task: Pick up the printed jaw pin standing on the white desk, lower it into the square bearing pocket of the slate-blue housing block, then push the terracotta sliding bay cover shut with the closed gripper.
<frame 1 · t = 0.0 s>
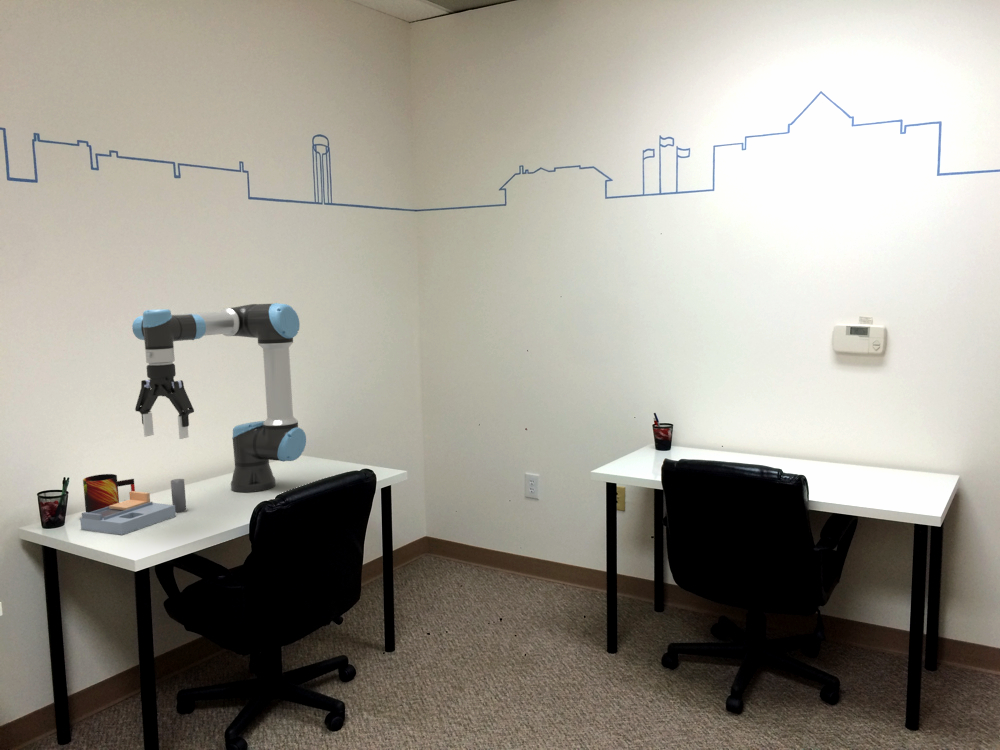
hand: (166, 437, 229), 28 cm above the table, fingers open, 13 cm apart
mug: (109, 513, 255), on the table
housing: (129, 522, 243), on the table
jaw pin: (179, 510, 254), on the table
lid: (129, 500, 247), point 5 cm above the table, slide at 0.0 cm
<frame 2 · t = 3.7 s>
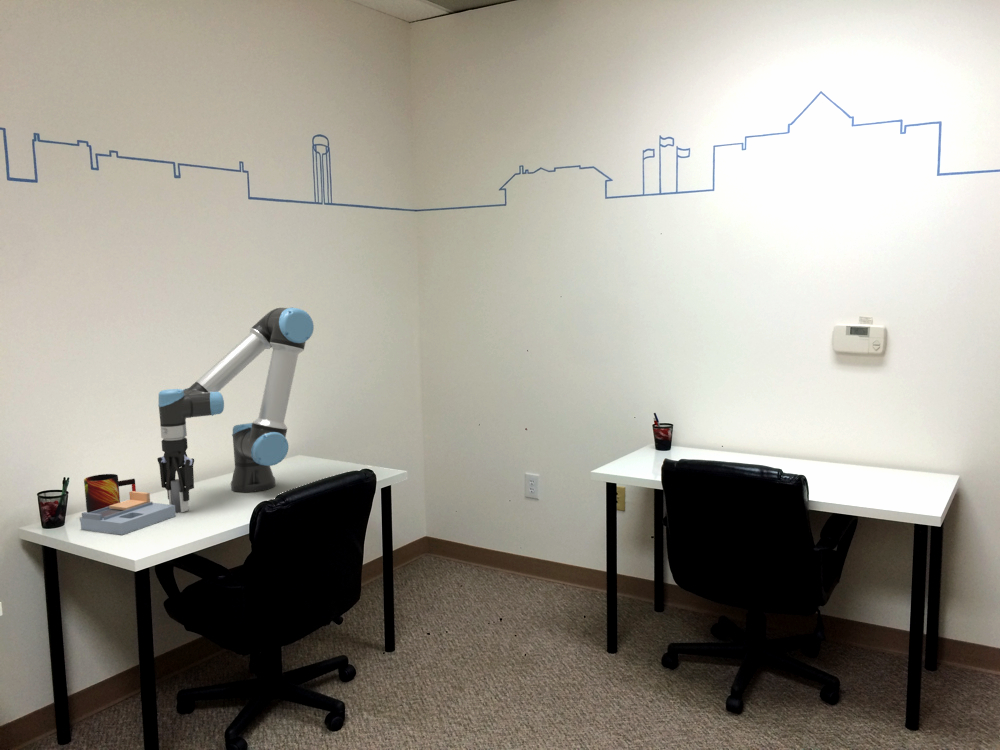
hand: (179, 510, 254), 0 cm above the table, fingers closed on jaw pin, 4 cm apart
jaw pin: (179, 511, 254), on the table, touching gripper
everything else where it was.
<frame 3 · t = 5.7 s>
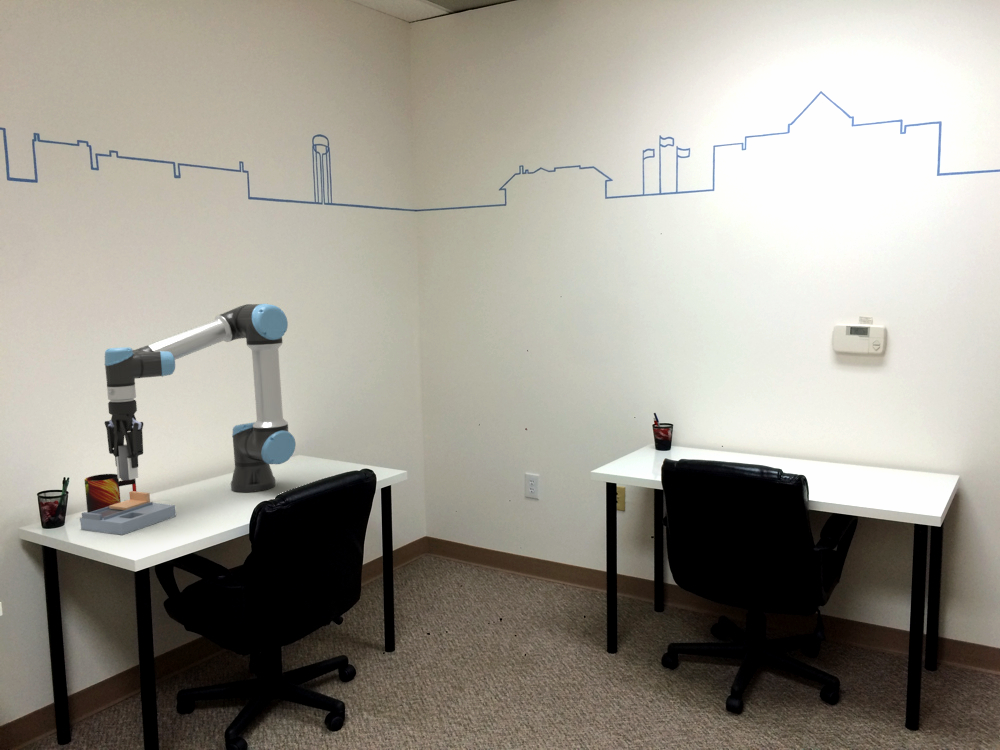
hand: (127, 477, 237), 15 cm above the table, fingers closed on jaw pin, 4 cm apart
jaw pin: (128, 478, 237), point 15 cm above the table, touching gripper
everything else where it was.
when the fingers open (5 cm above the table, at t = 7.7 s): jaw pin drops 3 cm, resting in housing.
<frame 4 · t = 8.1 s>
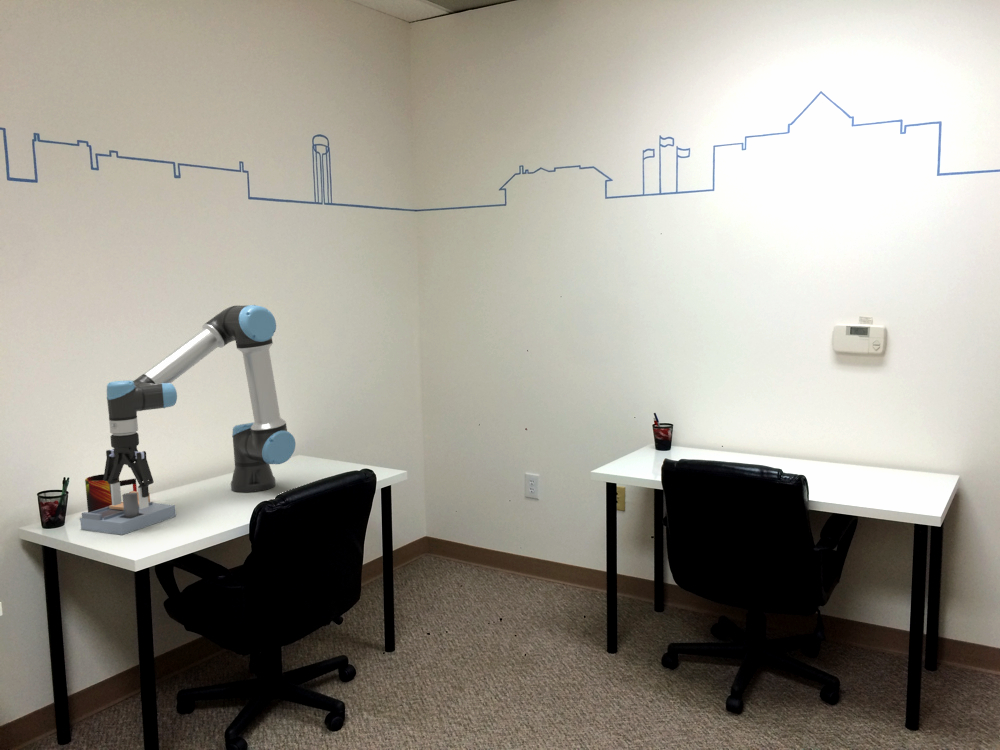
hand: (130, 506, 237), 6 cm above the table, fingers open, 10 cm apart
jaw pin: (132, 526, 238), resting in housing
everything else where it was.
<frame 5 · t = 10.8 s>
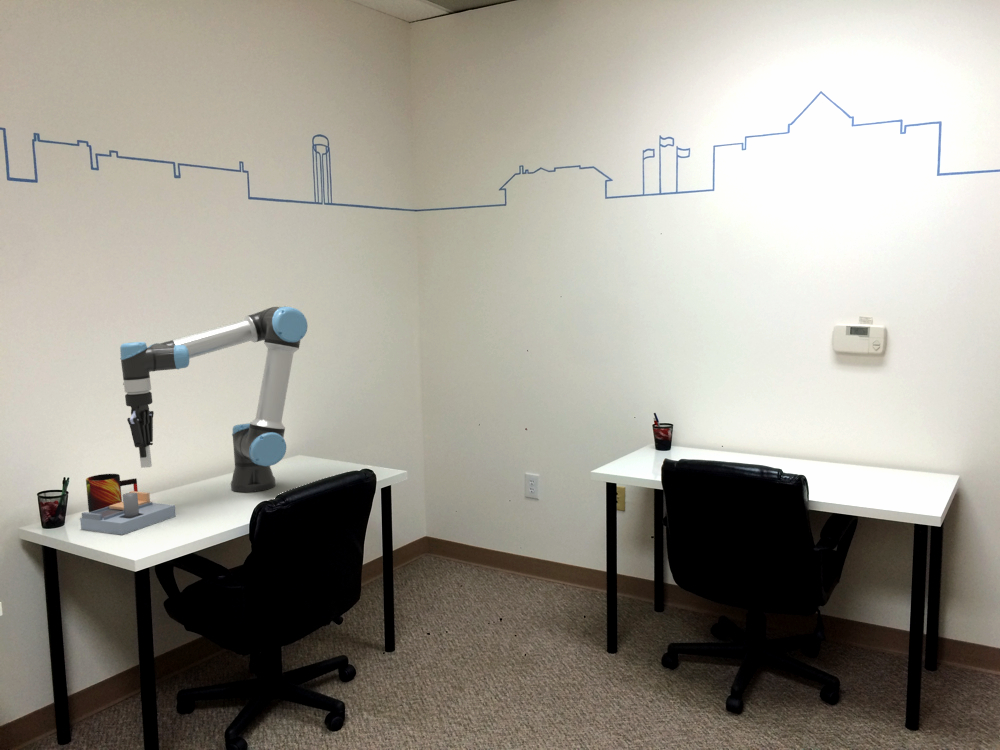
hand: (146, 466, 249), 16 cm above the table, fingers closed
nothing on the table moved.
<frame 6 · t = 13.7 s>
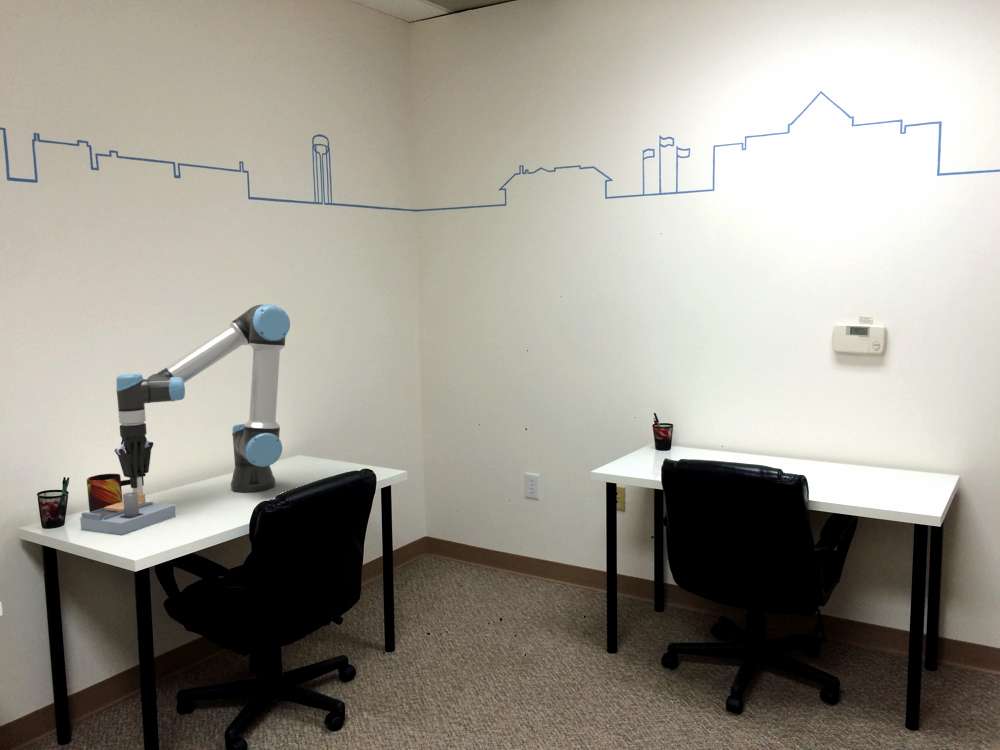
hand: (138, 497, 251), 6 cm above the table, fingers closed
lid: (124, 502, 246), point 5 cm above the table, slide at 1.7 cm, touching gripper
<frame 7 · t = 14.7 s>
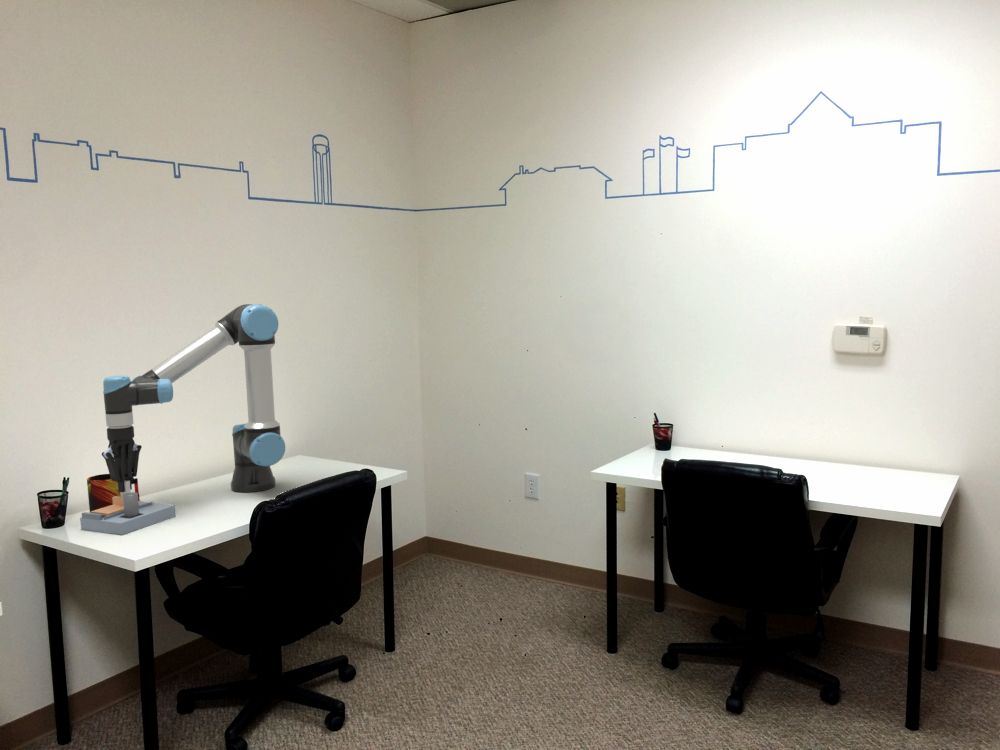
hand: (126, 501, 246), 6 cm above the table, fingers closed
lid: (112, 505, 242), point 5 cm above the table, slide at 6.4 cm, touching gripper
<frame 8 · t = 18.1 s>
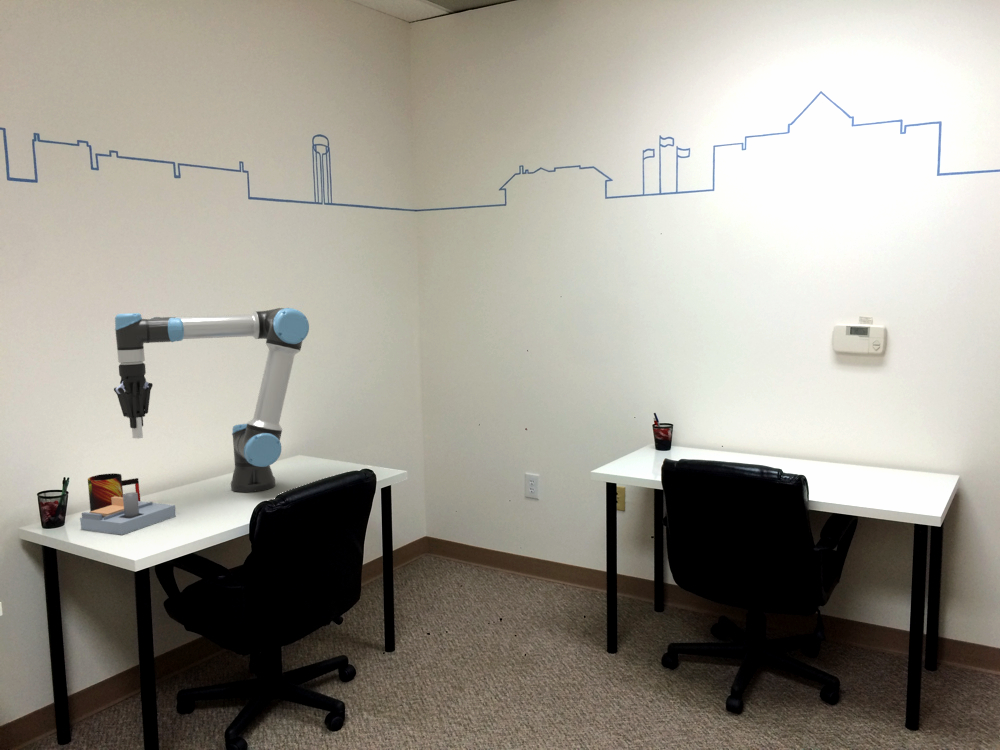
hand: (137, 437, 250), 24 cm above the table, fingers closed
lid: (111, 506, 241), point 5 cm above the table, slide at 6.7 cm
at the end: jaw pin 0.1 cm from the target spot on the housing, point 0.0 cm above the housing's base; jaw pin tilted 0°; lid slide at 6.7 cm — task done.
